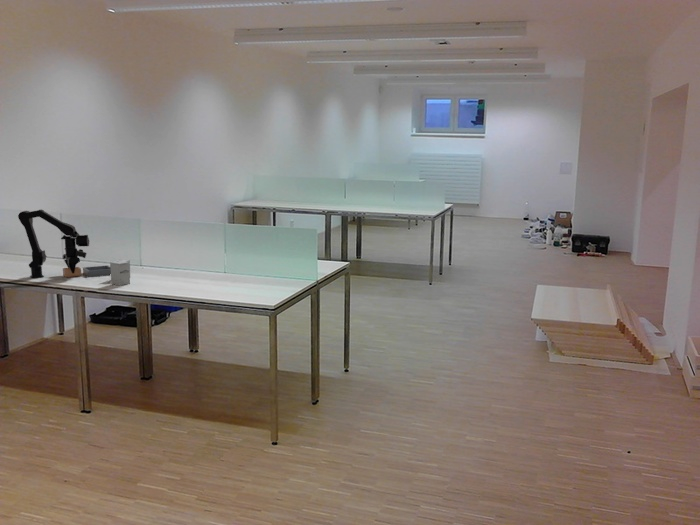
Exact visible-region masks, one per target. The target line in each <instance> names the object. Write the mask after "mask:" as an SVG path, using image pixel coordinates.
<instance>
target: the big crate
mask: <svg viewBox="0 0 700 525" xmlns="http://www.w3.org/2000/svg"><path fill="white" fill-rule="evenodd" d="M82 273H83V274H84V275H85V276H87V277H90V278H91V277H100V276H101V277H103V276H110V275H109V274H111V268H110V266H109V265H97V266H96V265H95V266H86V267H85V266H84V267H82ZM102 275H103V276H102Z"/></svg>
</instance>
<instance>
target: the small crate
mask: <svg viewBox="0 0 700 525" xmlns="http://www.w3.org/2000/svg"><path fill="white" fill-rule="evenodd" d="M62 276H63V277H64V278H71V277H72V278H73V277H81V276H82V267H80V266H76V267H75V272H74V273H72V272H71V270H70V268H68V267H64V268H62Z"/></svg>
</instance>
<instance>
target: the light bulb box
mask: <svg viewBox="0 0 700 525" xmlns="http://www.w3.org/2000/svg"><path fill="white" fill-rule="evenodd" d="M118 261H125V262H129V270H130V271H131V261H130V260H128V259H118V260H114V261H113V262H118ZM111 262H112V261H110V262H109V264H110V263H111ZM109 267H110V268H111V264H110V266H109Z"/></svg>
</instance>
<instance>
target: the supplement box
mask: <svg viewBox="0 0 700 525" xmlns="http://www.w3.org/2000/svg"><path fill="white" fill-rule="evenodd" d="M110 262H111V263H110ZM110 262H109V264H111V275H110V282H111V285H113V284H115V285H114V286H118V285H120V286H123V285H130V284H131V269H130V270H129V262H125V261H118V262H114V261H110Z"/></svg>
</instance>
